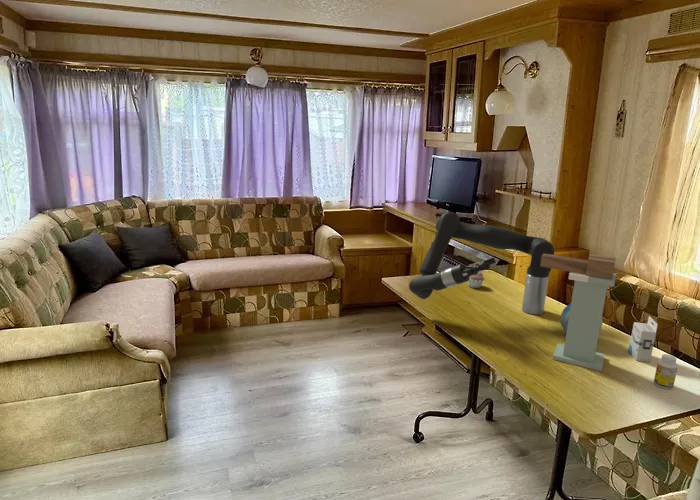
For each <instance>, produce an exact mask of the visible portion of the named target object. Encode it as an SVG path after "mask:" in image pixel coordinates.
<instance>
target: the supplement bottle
mask: <svg viewBox="0 0 700 500" xmlns="http://www.w3.org/2000/svg"><path fill="white" fill-rule="evenodd" d="M678 368H679V366H678V363H677V357H676V356H674V355H672V354H669V353H668V354H667V353H663V354H662V355H661V357H660V359H658V360H657V364H656V369H655V373H654V378H653V383H654V385H656V387H659V388H661V389H665V390H670V389H671V390H672V389H673V388H674V385H675V381H676V377H677V373H678Z"/></svg>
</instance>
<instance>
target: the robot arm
mask: <svg viewBox="0 0 700 500" xmlns="http://www.w3.org/2000/svg"><path fill="white" fill-rule="evenodd" d="M435 230H436V234H435V237H434V239H433V242H432V244H431V245H430V247H429V249H428V251H427V252H426V254H425V256H424V258H423V261H422V263H421V266H420V269H419V273H420V274H421V275H420V276H416V277H414V278H413V279H411V280H410V281H409V283H408V289H409V291H410V292H411V293H413V294H414V295H415V296H416V297H418V298H420V299H421V300H425V299H428V298H429V297H430V296H431V295H432V293H433V291H441V290H445V289H447V288H451V287H455V286H459V285H461V284H464V283H466V282H467V283H468V281H469V278H470V276H472V275H475V274H477V273H478V272H482V271H485V270H487V269H489V268H491V266H490V265H493V264H496V259H495V258H494V257H492V258H489V259H482V260H480V261H476V262H474V263H471V264H469V265H467V266H466V265H465V264H464V263H458V264H456V265H453V266H451V267H449V268H445V269H444V270H442V271H439V272H437V271H438V270H439V267H440V266H441V262H442V260H443V258H444V255H445V252H446V250H447V248H448V245H449V244H450V242H451V240H452V238H453V239H461V240H465V241H468V242H472V243H476V244H478V245H479V244H480V245H483V246H486V247H489V248H493V249H496V250H497V249H498V250H512V251H513V250H514V251H517V252H518V251H519V252H521V253H524V254H526V255H529V256H531V258H530V265H529V266H528V267H527V268H526V269H527V270H526V277H525V283H524V284H525V285H524V290H523V298H522V299H523V300H522V306H521V310H522V311H523V312H524V313H526V314H530V315H537V316H539V315H543V314H544V311H545V304H546V299H547V298H546V297H547V291H548V284H549V278H550V273H551V271H552V269H551V268H545V267H540V264H541V257H542V255H543V254H550V255H555V247H554V245H553V244H552V243H551V242H549V241H548V240H547V239H545V238H544V237H537V236H532V235H526V234H525V235H524V234H520V233H517V232H514V231H513V230H509V229H505V228H502V227H498V226H494V225H490V224H470V223H464V222H461V220H460V217H459V216H458V214H457V213H455V212H453V211H447V212H445V213H443V214H441V215H440V217H439V218H438V220H437V221H436V223H435Z"/></svg>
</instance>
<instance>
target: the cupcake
mask: <svg viewBox="0 0 700 500" xmlns="http://www.w3.org/2000/svg"><path fill="white" fill-rule="evenodd" d="M485 279H486V278H485V277H484V274H483V273H482V271H481V272H478V273H477V274H475V275H472V276H470V278H469V281H467V286H468V287H469V288H472V289H480V288H481V287H482V284H483V282H484V281H485Z"/></svg>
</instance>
